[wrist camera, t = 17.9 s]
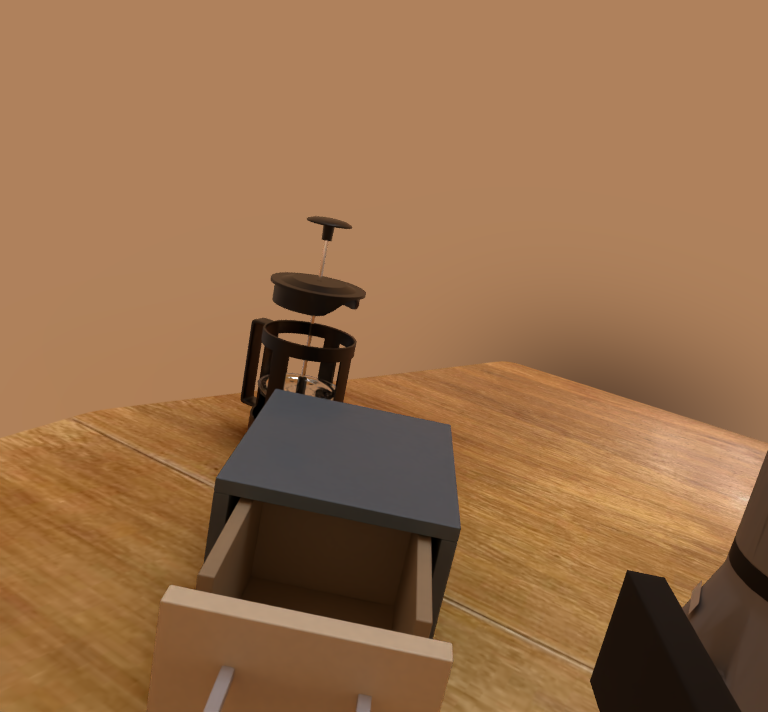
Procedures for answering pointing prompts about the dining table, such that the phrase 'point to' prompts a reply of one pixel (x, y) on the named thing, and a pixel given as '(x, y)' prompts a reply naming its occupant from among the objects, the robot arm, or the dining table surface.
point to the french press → (309, 299)
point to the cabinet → (348, 472)
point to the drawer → (302, 620)
